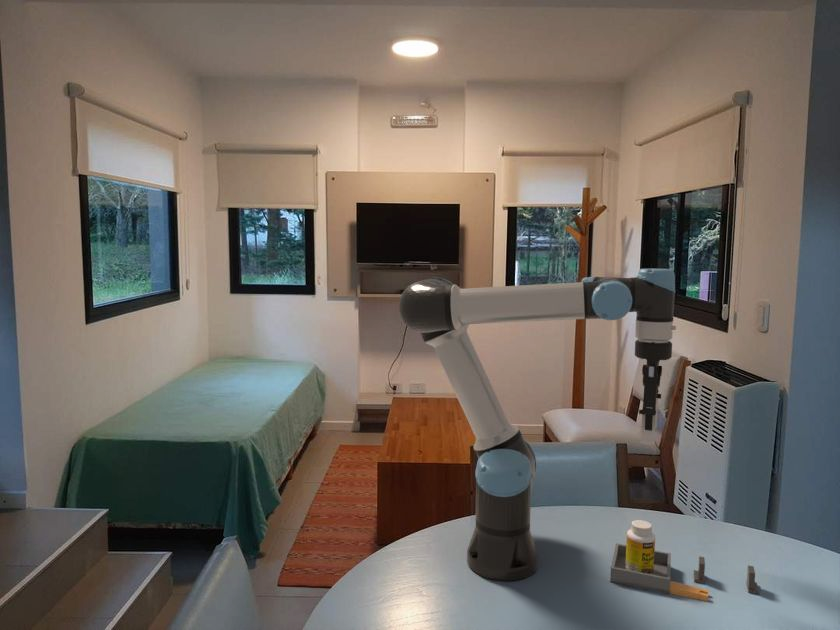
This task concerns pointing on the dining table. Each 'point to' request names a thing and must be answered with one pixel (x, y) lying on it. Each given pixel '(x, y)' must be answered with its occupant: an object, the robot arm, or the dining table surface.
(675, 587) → the fuse puller tool
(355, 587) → the dining table surface
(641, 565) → the supplement bottle
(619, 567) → the parts tray
